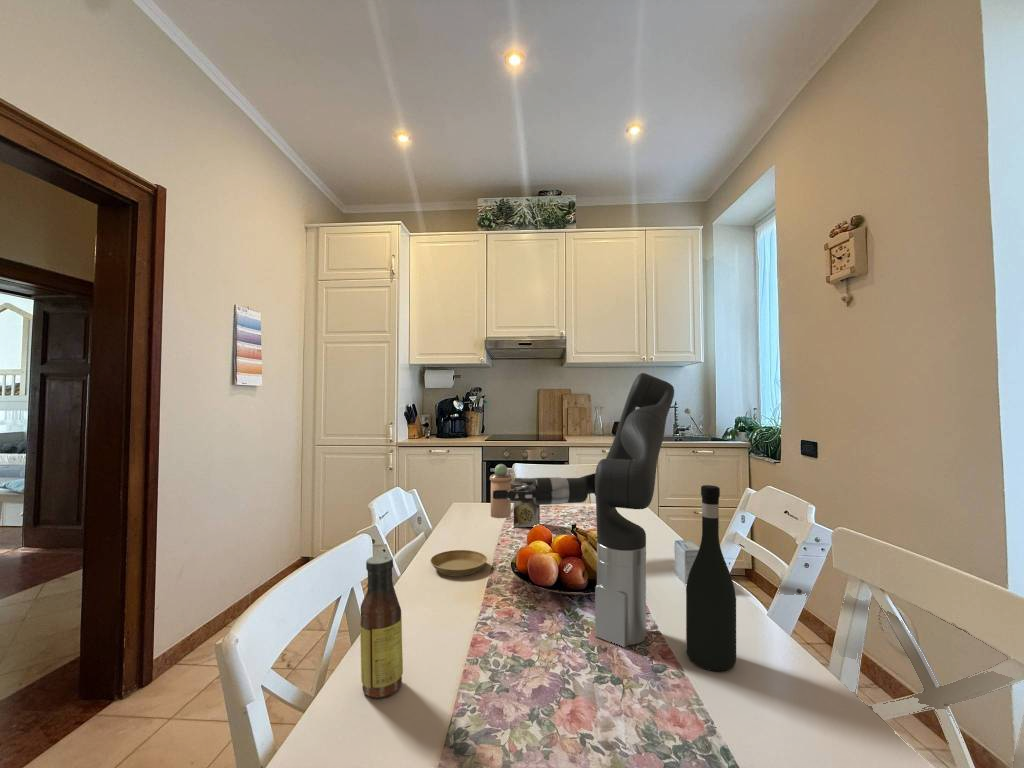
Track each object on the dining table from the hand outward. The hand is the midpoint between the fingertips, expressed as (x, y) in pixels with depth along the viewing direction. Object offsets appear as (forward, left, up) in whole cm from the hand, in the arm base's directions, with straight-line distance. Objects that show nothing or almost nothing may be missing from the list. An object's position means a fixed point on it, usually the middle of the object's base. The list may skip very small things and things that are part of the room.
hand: (491, 492), depth 130 cm
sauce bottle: (-53, -27, -18) cm, 62 cm away
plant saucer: (-11, +1, -19) cm, 22 cm away
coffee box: (+32, +13, -18) cm, 39 cm away
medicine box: (+22, -47, -19) cm, 55 cm away
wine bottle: (-11, -63, -18) cm, 66 cm away
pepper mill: (+2, -2, -6) cm, 7 cm away
